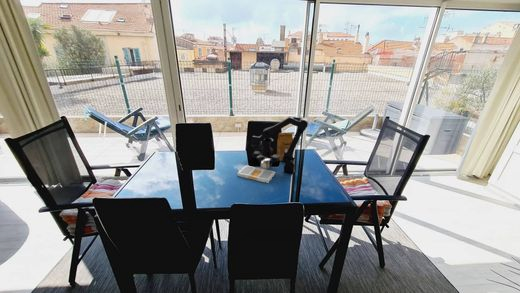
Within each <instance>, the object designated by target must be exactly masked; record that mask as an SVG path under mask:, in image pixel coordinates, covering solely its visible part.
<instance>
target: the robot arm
mask: <svg viewBox="0 0 520 293" xmlns="http://www.w3.org/2000/svg"><path fill="white" fill-rule="evenodd" d="M308 124H309V120H308V119H307V117H297V116H292V115H291V116H288V117H287V118H285V119H283V120H281V121H279V122H278V123H276V124H274V125H273V126H268V127H266V128H264V129H263V130H262V132H261V134H260V136H256V135H252V136H251V140H250V146H260V145H261V144H262V149H261V151H262V154H260V152H259V151H255V152H254V151H253V153H252V156H251V157H252V158H256V159H255V160H256V161H257V163H258V164H259V166H260V167H261V162H262V161H263V158H262V157H266V158H267V159H270V161H269V169H271V168H272V164H273V163H278V162H279V159H280V156H279V155H277V154H273V152H274V149H273V148H272V147H271V143H273V142H274V139H273V138H272V136H273V135H274V134H275V133H276V132H278V131H280V130H281V129H283V128H285V127H287V126H289V125H293V126H295V127H296V131H295V134H294V136H293V140H292V143H291V145H290V147H289V149H288V150H287V149H286V150H285V152H284V154H283V156H282V157H283V162H284V165H283V166H284V167H283V174H288V175H294V173H295V172H296V168H295V167H296V163H295V162H296V158H295V157H294V156H293V152H294V153H295V150H296V147H297V145H298V142H299V140H300V138H301V136H302V134H303V133H304V132H305V130H306V129H307V128H308ZM272 154H273V155H272Z"/></svg>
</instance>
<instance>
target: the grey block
mask: <svg viewBox="0 0 520 293" xmlns="http://www.w3.org/2000/svg"><path fill="white" fill-rule="evenodd" d="M270 160H271V158H263V159H262V162H261V166H260V169H265V170H270V168H269V161H270Z"/></svg>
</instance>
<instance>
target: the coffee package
mask: <svg viewBox="0 0 520 293" xmlns="http://www.w3.org/2000/svg"><path fill="white" fill-rule="evenodd" d="M293 135H294V133H293V132H289V131H288V132H286V131H285V132H279V133H278V137H277V144H276V155H279V156H280V159H279V160H278V162H281V161H283V157H282V156H283V154H284V152H285V150H286V149H287V150H288V149H289V147H290V145H291V143H292V140H293V138H294V136H293ZM294 153H295V151H294V152H293V157H294ZM283 162H284V161H283Z"/></svg>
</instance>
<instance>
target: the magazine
mask: <svg viewBox="0 0 520 293" xmlns="http://www.w3.org/2000/svg"><path fill="white" fill-rule="evenodd" d="M251 146H252V145H251ZM252 149H253V153H254V152H255V151H259V152H260V154H262V151H261V149H262V144H261V145H260V146H252ZM265 158H266V157H262V159H265ZM255 160H257V159H256V158H255Z"/></svg>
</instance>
